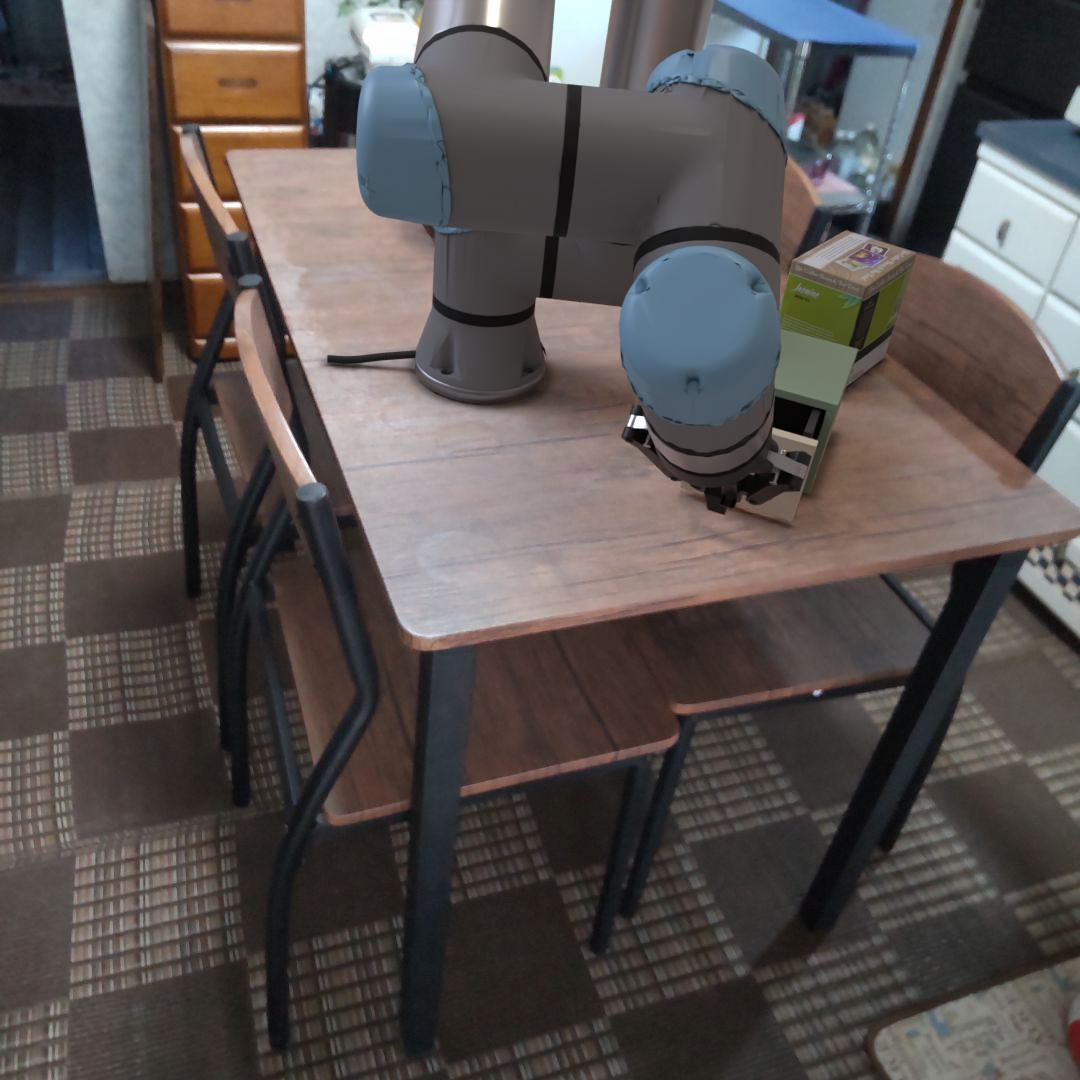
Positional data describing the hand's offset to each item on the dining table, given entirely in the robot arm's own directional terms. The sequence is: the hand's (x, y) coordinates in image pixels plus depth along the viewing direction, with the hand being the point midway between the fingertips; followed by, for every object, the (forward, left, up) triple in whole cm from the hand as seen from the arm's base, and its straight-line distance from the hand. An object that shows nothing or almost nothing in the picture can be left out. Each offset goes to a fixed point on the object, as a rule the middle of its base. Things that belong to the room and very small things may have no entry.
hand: (721, 497), depth 83 cm
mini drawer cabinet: (+16, +23, -11) cm, 30 cm away
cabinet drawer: (+10, +15, -10) cm, 21 cm away
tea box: (+32, +41, -11) cm, 53 cm away
